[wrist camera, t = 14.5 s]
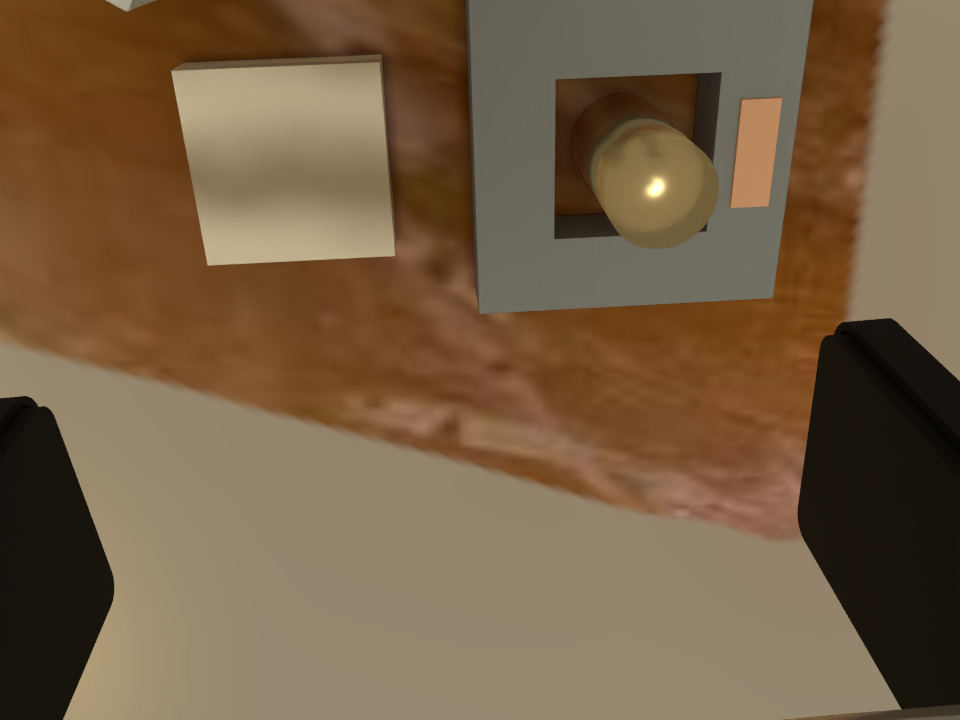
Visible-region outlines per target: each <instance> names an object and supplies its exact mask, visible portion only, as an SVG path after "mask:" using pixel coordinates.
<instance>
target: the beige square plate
mask: <svg viewBox="0 0 960 720" xmlns="http://www.w3.org/2000/svg"><path fill="white" fill-rule="evenodd" d="M171 73H172V78H173V83H174V89H175V94H176V99H177V104H178V110H179V115H180V120H181V126H182V131H183V136H184V142H185V147H186V152H187V158H188V163H189V168H190V173H191V179H192V184H193V189H194V195H195V200H196V205H197V211H198V216H199V221H200V227H201V232H202V237H203V243H204V248H205V253H206V258H207V264H208V265H226V264H246V263H265V262H285V261H304V260H324V259H344V258H363V257H383V256H395V252H396V230H395V218H394V205H393V192H392V180H391V167H390V155H389V142H388V129H387V117H386V104H385V92H384V79H383V66H382V54H379V55H355V56H331V57H307V58H282V59H258V60H234V61H210V62H186V63H182V64H181V65H179V66H178V67H176V68H175V69H173V70H172V71H171Z"/></svg>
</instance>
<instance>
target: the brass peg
mask: <svg viewBox="0 0 960 720" xmlns="http://www.w3.org/2000/svg"><path fill="white" fill-rule="evenodd" d="M571 145H572V154H573V158H574V161H575V163H576V165H577V167H578V168H579V170H580V172H581V173H582V175H583V177H584V178H585V180H586V181H587V183H588V185H589V186H590V188H591V190H592V191H593V193H594V195H595V196H596V198H597V200H598V201H599V203H600V205H601V206H602V208H603V209H604V211H605V213H606V214H607V216H608V218H609V219H610V221H611V223H612V224H613V226H614V227H615V229H616V230H617V232H618V233H619V234H620V235H621V236H622V237H623V238H625V239H626V240H627V241H629V242H631V243H632V244H634V245H637V246H639V247H643V248H648V249H664V248H670V247H674V246H676V245H679V244H681V243H683V242H685V241H687V240H689V239H690V238H692V237H693V236H694V235H696V234H697V233H698V232H699V231H700V230H701V229H702V228H703V227H704V226H705V224H706V223H707V222H708V220H709V219H710V217H711V215H712V213H713V211H714V209H715V206H716V203H717V199H718V192H719V184H718V177H717V173H716V170H715V168H714V165H713V164H712V162H711V160H710V159H709V158H708V156H707V155H706V154H705V153H704V152H703V151H702V150H701V149H699V148H698V147H697V146H696V145H695V144H694V143H693V142H691V141H690V140H689V139H688V138H687V137H686V136H685V135H683V134H682V133H681V132H680V131H679V130H678V129H676V128H675V127H674V126H673V125H672V124H671V123H670V122H668V121H667V120H666V119H665V118H664V117H663V116H661V115H660V114H659V113H658V112H657V111H656V110H655V109H653V108H652V107H651V106H650V105H649V104H648V103H646V102H645V101H643V100H642V99H640V98H638V97H635V96H632V95H627V94H616V95H610V96H606V97H604V98H601V99H599V100H598V101H596V102H594V103H593V104H591V105H590V106H589V107H588V108H587V109H586V110H585V111H584V112H583V113H582V115H581V116H580V118H579V119H578V121H577V123H576V125H575V128H574V130H573V135H572V142H571Z"/></svg>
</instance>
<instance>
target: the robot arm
mask: <svg viewBox="0 0 960 720" xmlns="http://www.w3.org/2000/svg"><path fill="white" fill-rule="evenodd" d="M798 523H799V528H800V531H801V534H802V537H803V539H804V541H805V543H806V544H807V546H808V548H809V549H810V551H811V553H812V555H813V556H814V558H815V560H816V562H817V563H818V565H819V567H820V568H821V570H822V572H823V574H824V575H825V577H826V579H827V581H828V582H829V584H830V586H831V587H832V589H833V591H834V593H835V594H836V596H837V598H838V600H839V601H840V603H841V605H842V607H843V608H844V610H845V612H846V614H847V615H848V617H849V619H850V620H851V622H852V624H853V626H854V627H855V629H856V631H857V633H858V634H859V636H860V638H861V639H862V641H863V643H864V645H865V647H866V648H867V650H868V652H869V653H870V655H871V657H872V659H873V660H874V662H875V664H876V666H877V667H878V669H879V671H880V672H881V674H882V676H883V678H884V679H885V681H886V683H887V685H888V686H889V688H890V690H891V692H892V693H893V695H894V697H895V698H896V700H897V702H898V704H899V706H900V707H901V709H902V710H890V711H876V712H863V713H850V714H839V715H828V716H818V717H807V718H796V719H785V720H960V381H959V380H958V379H957V378H956V377H955V376H954V375H952V374H951V373H950V372H949V371H948V370H947V369H946V368H945V367H944V366H943V365H942V364H941V363H940V362H938V360H936V359H935V358H934V357H933V356H932V355H931V354H930V353H929V352H928V351H927V350H926V349H925V348H924V347H923V346H921V344H919V343H918V342H917V341H916V340H915V339H914V338H913V337H912V336H911V335H910V334H908V333H907V331H906V330H904V329H903V328H902V327H901V326H900V325H899V324H898V323H897V322H896V321H894V320H893V319H891V318H887V319H875V320H864V321H852V322H842V323H841V324H840V325H838V327H837V329H836V331H835V333H834V335H827V336H826V337H824V338H823V340H822V342H821V346H820V352H819V359H818V366H817V373H816V381H815V388H814V395H813V402H812V409H811V417H810V424H809V431H808V438H807V445H806V453H805V460H804V467H803V474H802V481H801V489H800V496H799V503H798ZM113 596H114V579H113V574H112V571H111V569H110V566H109V563H108V560H107V557H106V555H105V552H104V549H103V547H102V544H101V541H100V539H99V536H98V533H97V530H96V528H95V525H94V522H93V519H92V517H91V514H90V512H89V509H88V506H87V503H86V501H85V498H84V495H83V492H82V490H81V487H80V484H79V482H78V479H77V476H76V473H75V471H74V468H73V466H72V463H71V460H70V457H69V455H68V452H67V449H66V446H65V444H64V441H63V438H62V436H61V433H60V430H59V428H58V425H57V422H56V420H55V417H54V415H53V414H52V412H51V410H50V409H49V408H47V407H45V406H43V407H38V405H37V404H36V402H35V401H34V400H33V399H32V398H30V397H27V396H22V397H11V398H0V720H63V718H64V716H65V713H66V711H67V709H68V706H69V704H70V701H71V699H72V697H73V694H74V692H75V690H76V687H77V685H78V683H79V680H80V678H81V676H82V673H83V671H84V669H85V666H86V664H87V661H88V659H89V657H90V654H91V652H92V650H93V647H94V645H95V643H96V640H97V638H98V635H99V633H100V631H101V628H102V626H103V624H104V621H105V619H106V616H107V614H108V612H109V610H110V607H111V604H112V601H113Z"/></svg>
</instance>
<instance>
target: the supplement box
mask: <svg viewBox="0 0 960 720" xmlns="http://www.w3.org/2000/svg"><path fill="white" fill-rule="evenodd" d="M106 1H107V2H109V3H111V4H113V5H115V6H117V7H119V8H120V9H122V10H124V11H126V12H128V11H130V10H132V9H135V8H137V7H140V6H143V5H146V4H148V3H150V2H153V1H155V0H106Z"/></svg>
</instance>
